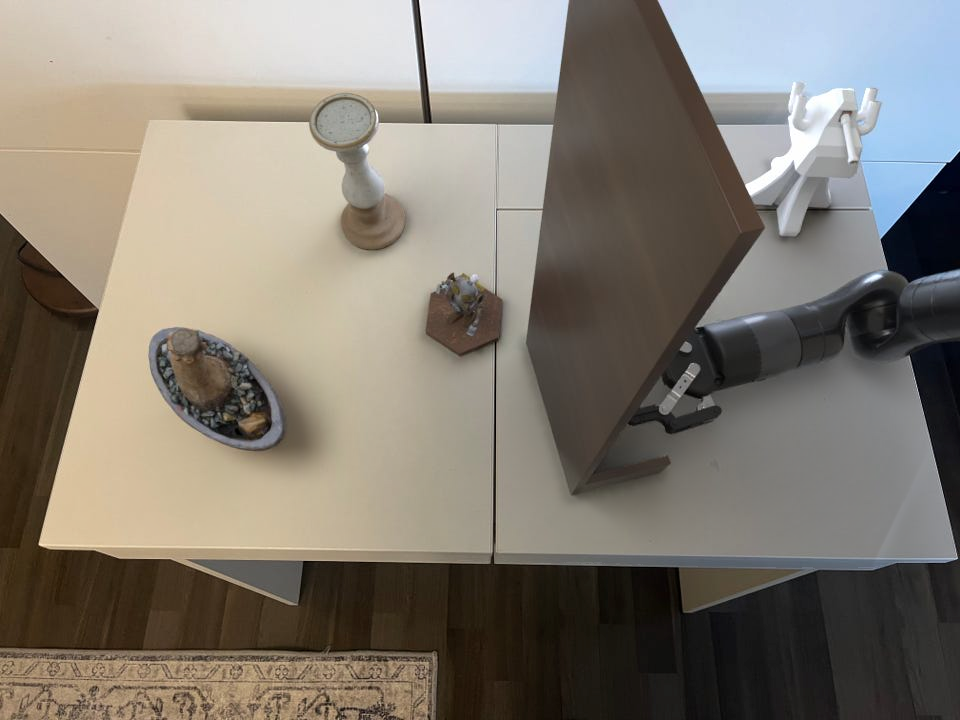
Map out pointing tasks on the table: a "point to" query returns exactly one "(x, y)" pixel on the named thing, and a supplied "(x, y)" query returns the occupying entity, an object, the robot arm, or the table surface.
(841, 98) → the toy gun turret
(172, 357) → the planter
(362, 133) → the candle holder
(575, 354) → the shelf
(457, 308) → the robot figurine
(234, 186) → the table surface
